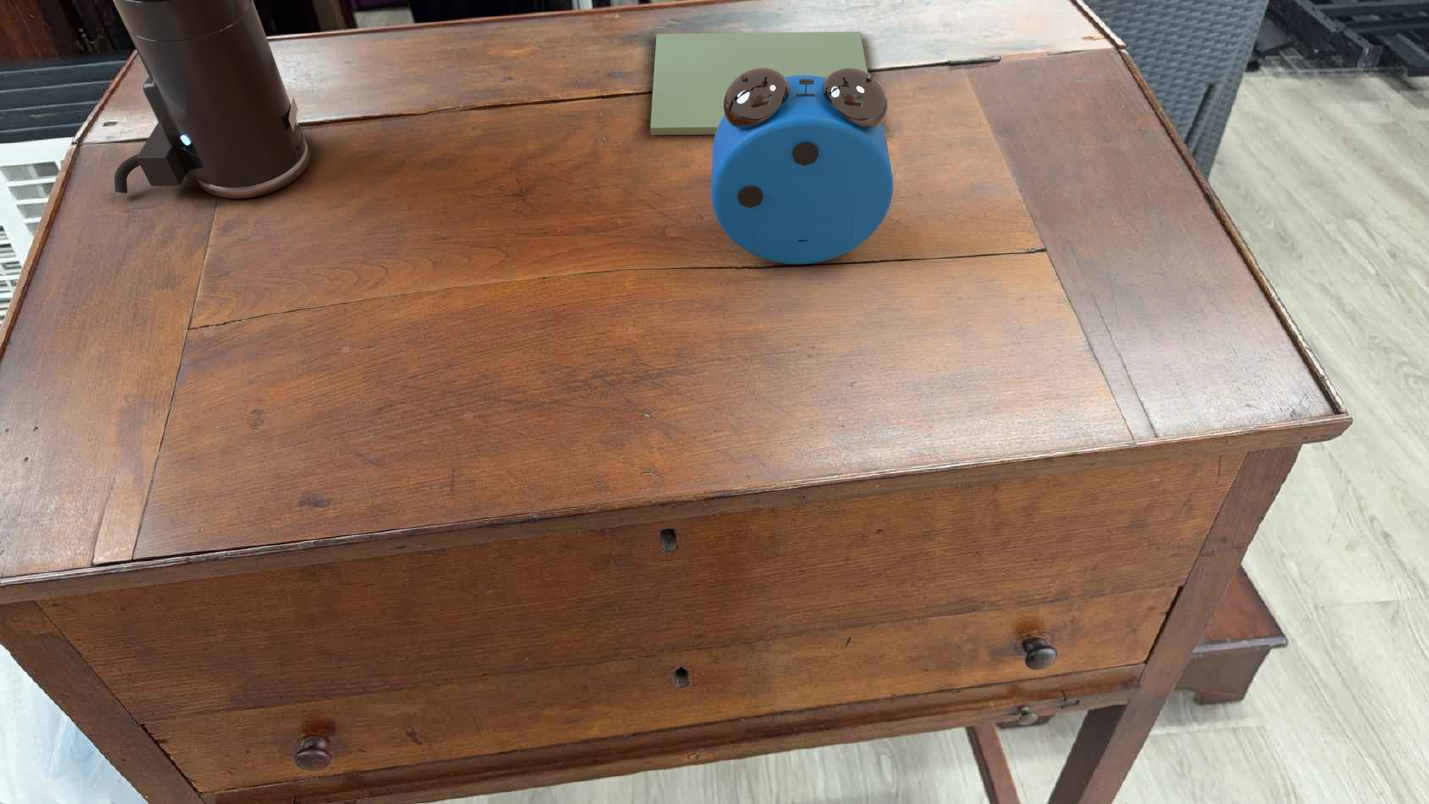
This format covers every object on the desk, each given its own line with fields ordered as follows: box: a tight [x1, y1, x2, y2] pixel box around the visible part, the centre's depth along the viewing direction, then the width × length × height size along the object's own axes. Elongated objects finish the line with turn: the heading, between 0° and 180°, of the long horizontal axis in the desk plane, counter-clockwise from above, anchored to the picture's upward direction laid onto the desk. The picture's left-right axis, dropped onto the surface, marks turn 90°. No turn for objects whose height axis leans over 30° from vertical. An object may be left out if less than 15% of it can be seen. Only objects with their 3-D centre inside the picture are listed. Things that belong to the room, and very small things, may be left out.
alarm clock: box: [711, 67, 894, 265], centre depth 75 cm, size 13×6×15 cm, turn 89°
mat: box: [650, 31, 869, 136], centre depth 95 cm, size 20×16×1 cm
